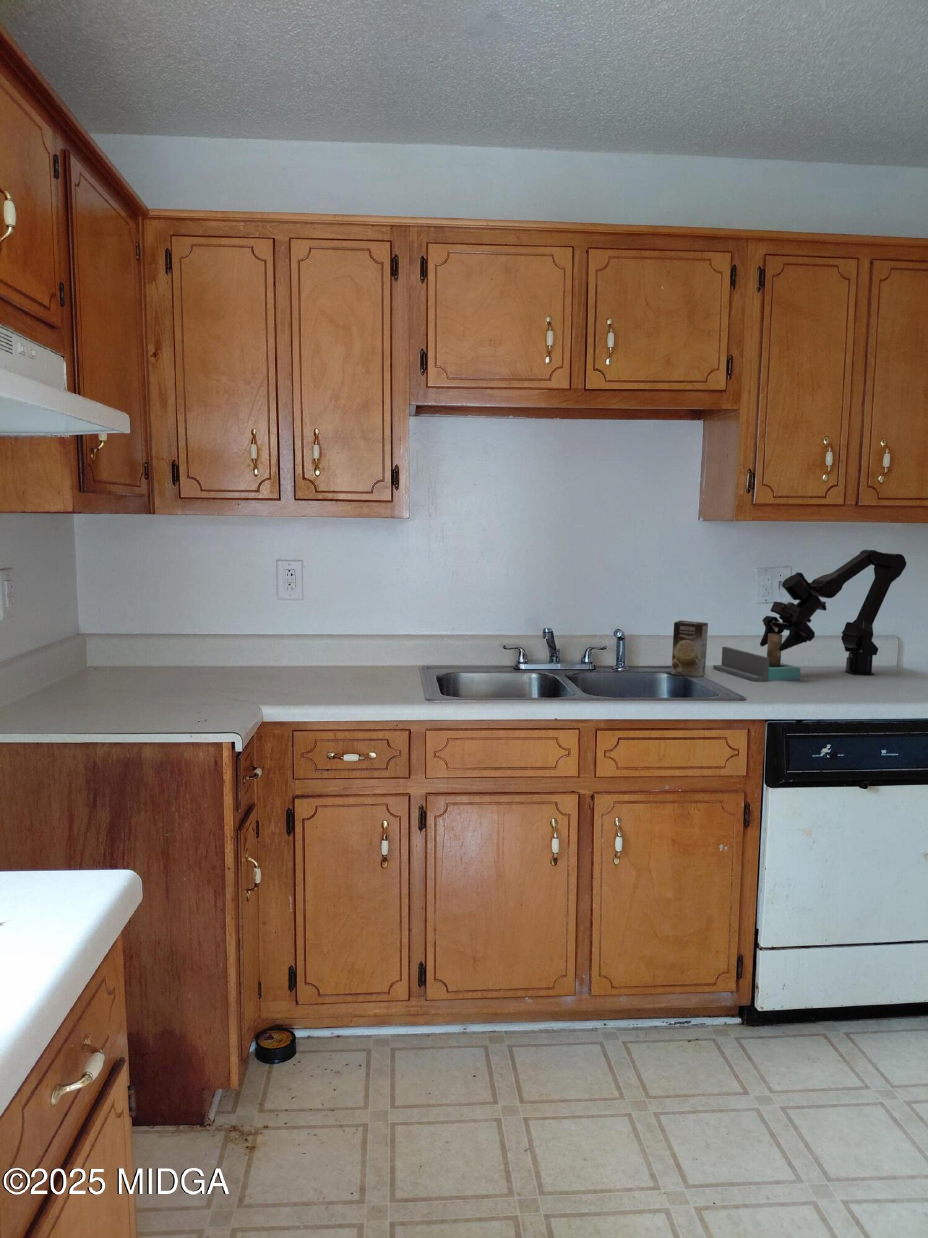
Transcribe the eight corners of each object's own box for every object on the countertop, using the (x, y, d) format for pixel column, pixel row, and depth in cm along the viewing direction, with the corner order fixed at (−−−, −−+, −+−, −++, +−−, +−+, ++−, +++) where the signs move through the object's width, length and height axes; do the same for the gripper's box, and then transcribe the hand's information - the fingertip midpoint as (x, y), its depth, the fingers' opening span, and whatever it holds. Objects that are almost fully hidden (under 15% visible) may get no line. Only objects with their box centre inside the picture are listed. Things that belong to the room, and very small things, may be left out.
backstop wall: (725, 668, 276) (726, 646, 275) (768, 681, 255) (769, 657, 254) (713, 668, 275) (714, 647, 274) (754, 681, 254) (755, 658, 253)
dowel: (780, 674, 263) (782, 634, 262) (779, 676, 260) (781, 635, 258) (766, 673, 265) (768, 633, 264) (765, 675, 261) (767, 634, 260)
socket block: (776, 674, 269) (777, 661, 269) (799, 681, 259) (800, 667, 258) (745, 675, 266) (746, 663, 266) (767, 682, 256) (768, 669, 255)
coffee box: (670, 674, 264) (672, 622, 263) (677, 671, 270) (679, 620, 268) (700, 677, 260) (702, 624, 258) (706, 674, 265) (708, 622, 263)
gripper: (769, 589, 270) (736, 625, 268) (808, 595, 252) (774, 633, 250) (789, 614, 273) (757, 650, 271) (829, 621, 255) (795, 659, 253)
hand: (770, 647), depth 261 cm, fingers open, 9 cm apart
